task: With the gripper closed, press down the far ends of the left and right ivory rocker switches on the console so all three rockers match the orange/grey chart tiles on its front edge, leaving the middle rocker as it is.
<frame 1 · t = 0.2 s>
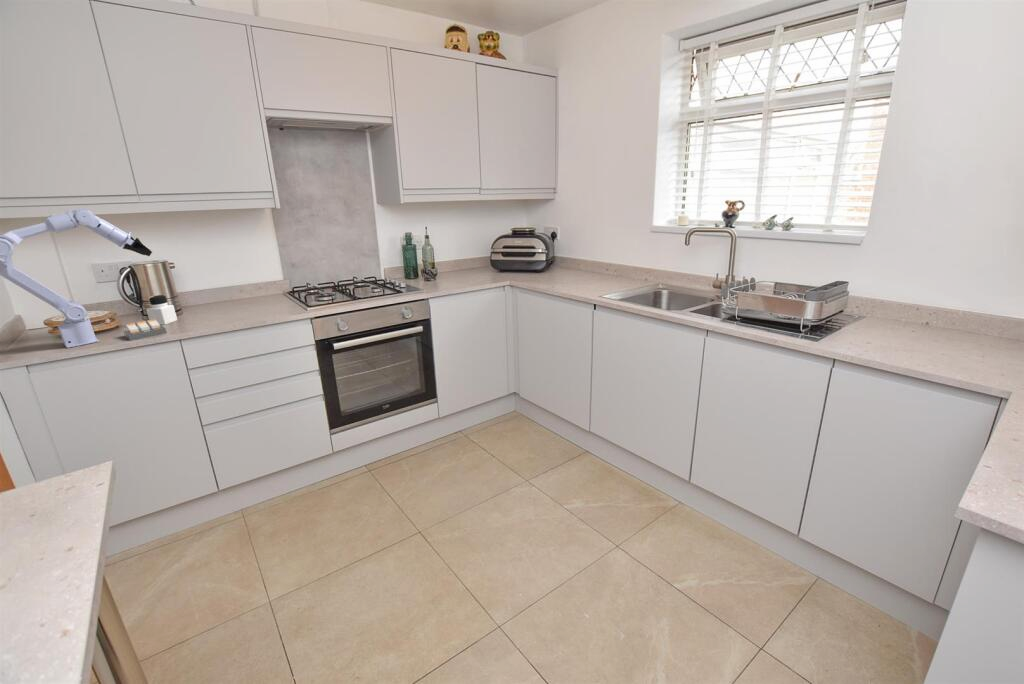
hand: (148, 253, 190), 31 cm above the countertop, tool tilted 45°, fingers open, 7 cm apart
rocker 2: (143, 325, 188), point 4 cm above the countertop, hinge at 12.0°
console: (145, 334, 189), on the countertop
rocker 3: (153, 323, 190), point 4 cm above the countertop, hinge at 12.0°
rocker 1: (132, 327, 185), point 4 cm above the countertop, hinge at 12.0°
medicine bottle: (164, 323, 207), on the countertop
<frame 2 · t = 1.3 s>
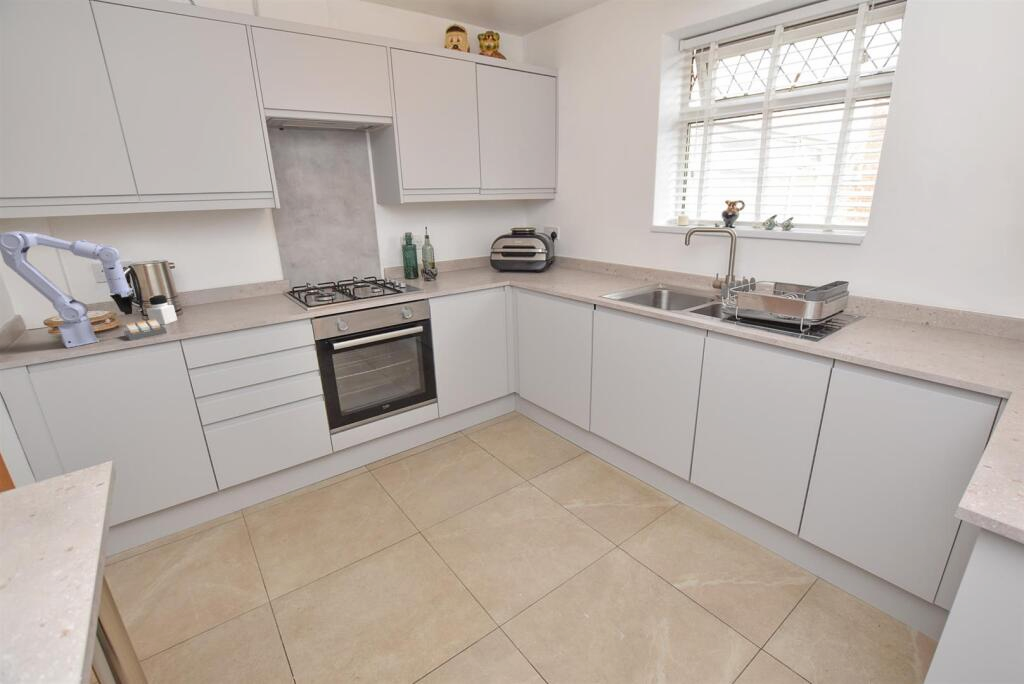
hand: (126, 312, 185), 9 cm above the countertop, tool pointing down, fingers open, 7 cm apart
nothing on the countertop moved.
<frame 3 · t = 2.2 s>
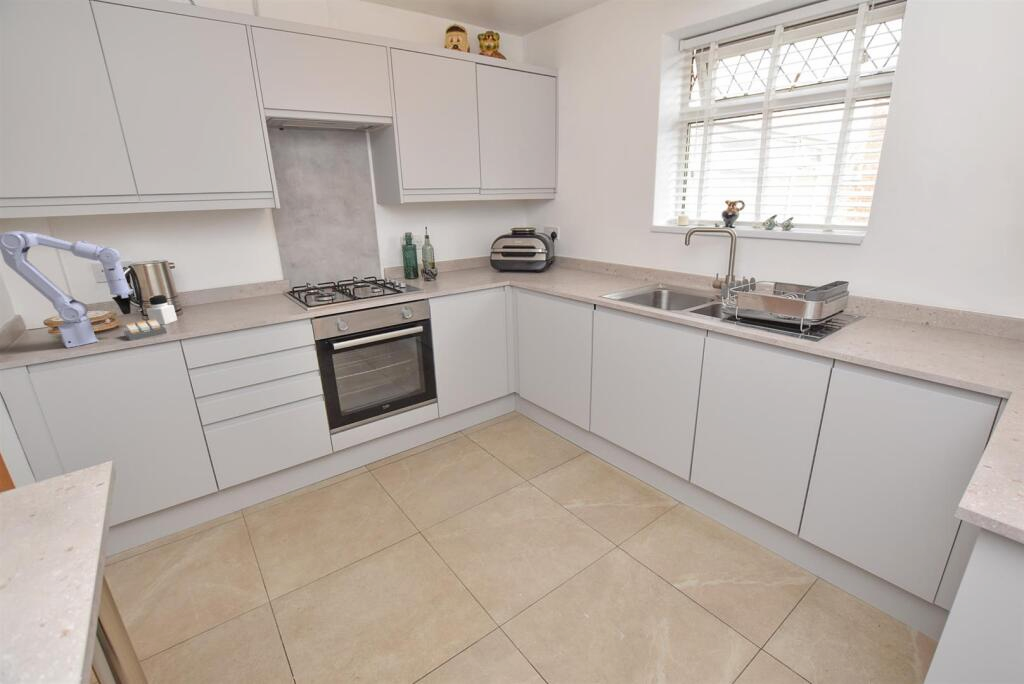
hand: (127, 313, 185), 9 cm above the countertop, tool pointing down, fingers closed
nothing on the countertop moved.
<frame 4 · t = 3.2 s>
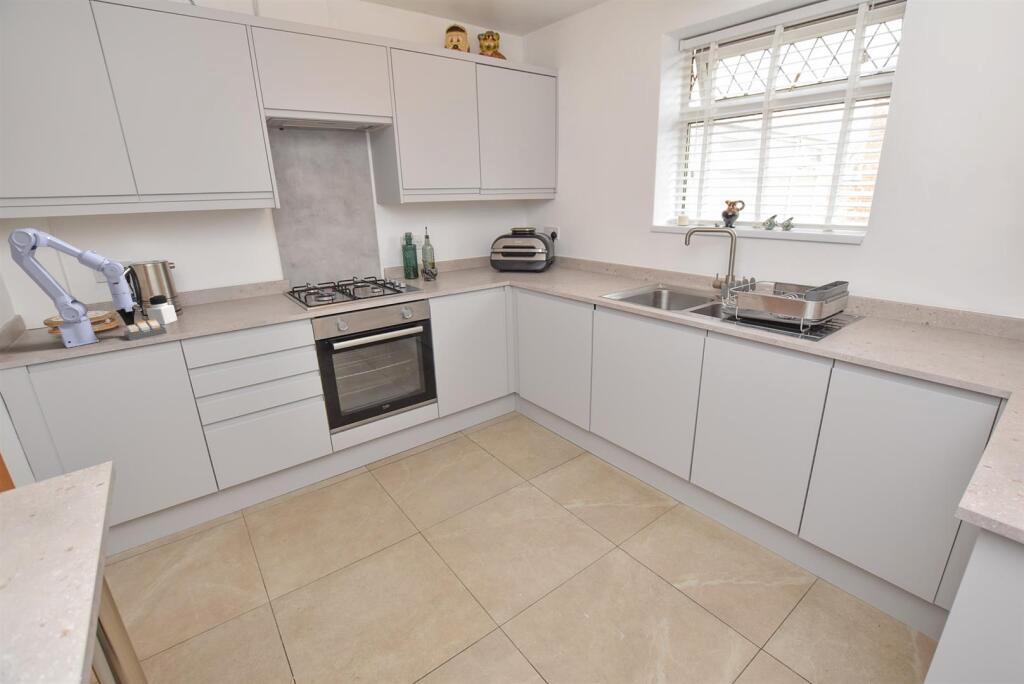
hand: (130, 326, 187), 4 cm above the countertop, tool pointing down, fingers closed, pressing on rocker 1
rocker 1: (132, 327, 185), point 4 cm above the countertop, hinge at 6.4°, touching gripper
everything else where it was.
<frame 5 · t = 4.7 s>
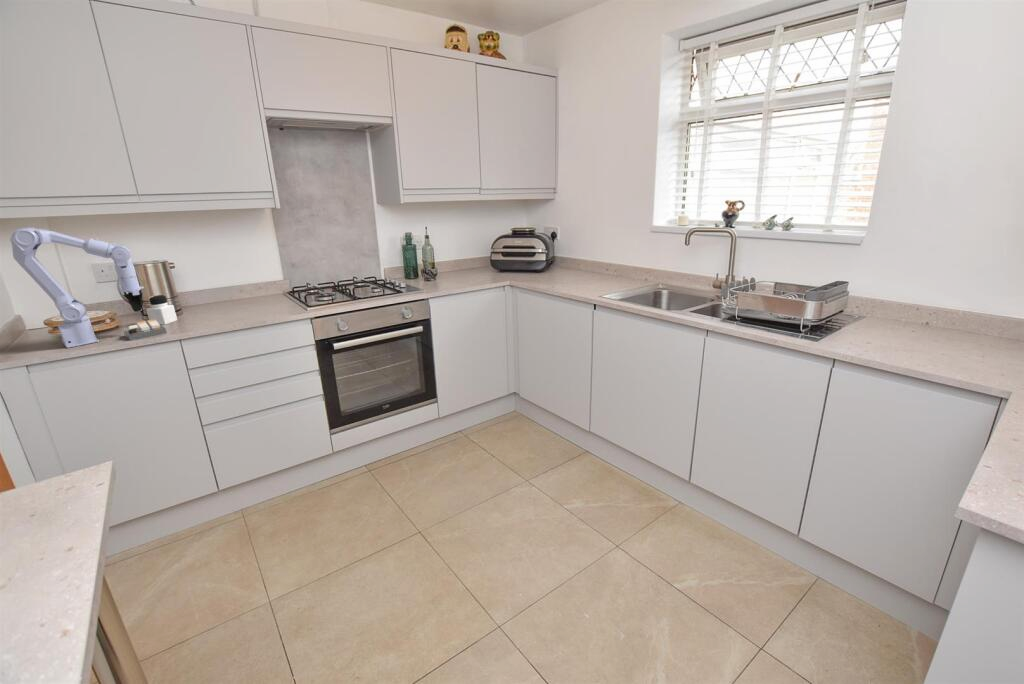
hand: (137, 310, 188), 9 cm above the countertop, tool pointing down, fingers closed
rocker 1: (132, 327, 185), point 4 cm above the countertop, hinge at -17.9°
everything else where it was.
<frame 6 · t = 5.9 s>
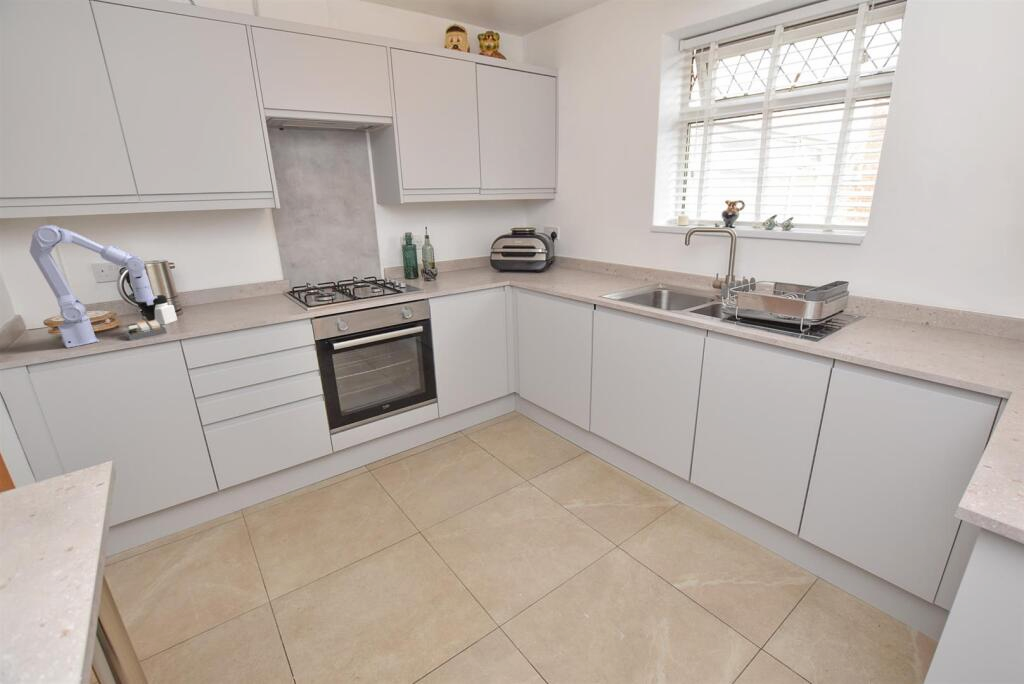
hand: (151, 320, 192), 5 cm above the countertop, tool pointing down, fingers closed, pressing on rocker 3
rocker 3: (153, 323, 190), point 4 cm above the countertop, hinge at 12.0°, touching gripper
rocker 1: (132, 327, 185), point 4 cm above the countertop, hinge at -17.6°
everything else where it was.
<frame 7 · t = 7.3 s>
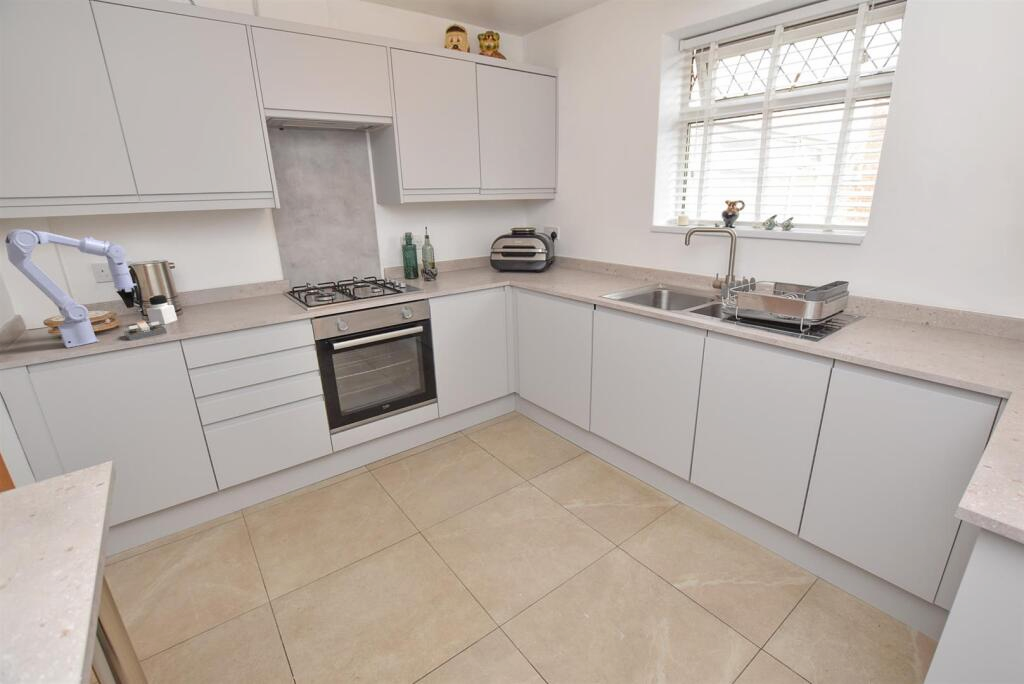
hand: (130, 307, 191), 10 cm above the countertop, tool pointing down, fingers closed
rocker 3: (153, 323, 190), point 4 cm above the countertop, hinge at -12.2°
rocker 1: (132, 327, 185), point 4 cm above the countertop, hinge at -15.7°
everything else where it was.
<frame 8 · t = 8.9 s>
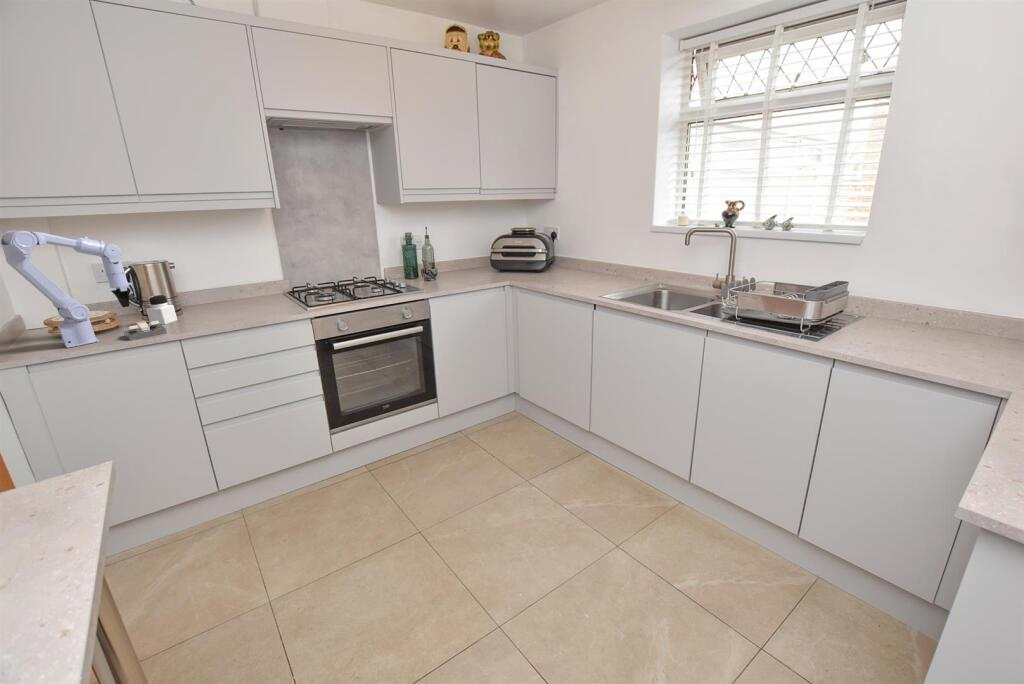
hand: (125, 306, 192), 10 cm above the countertop, tool pointing down, fingers closed
rocker 3: (153, 323, 190), point 4 cm above the countertop, hinge at -18.4°
rocker 1: (132, 327, 185), point 4 cm above the countertop, hinge at -14.9°
everything else where it was.
at the end: rocker 1 at -15° (first picture: +12°); rocker 2 at +12° (first picture: +12°); rocker 3 at -18° (first picture: +12°) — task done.
